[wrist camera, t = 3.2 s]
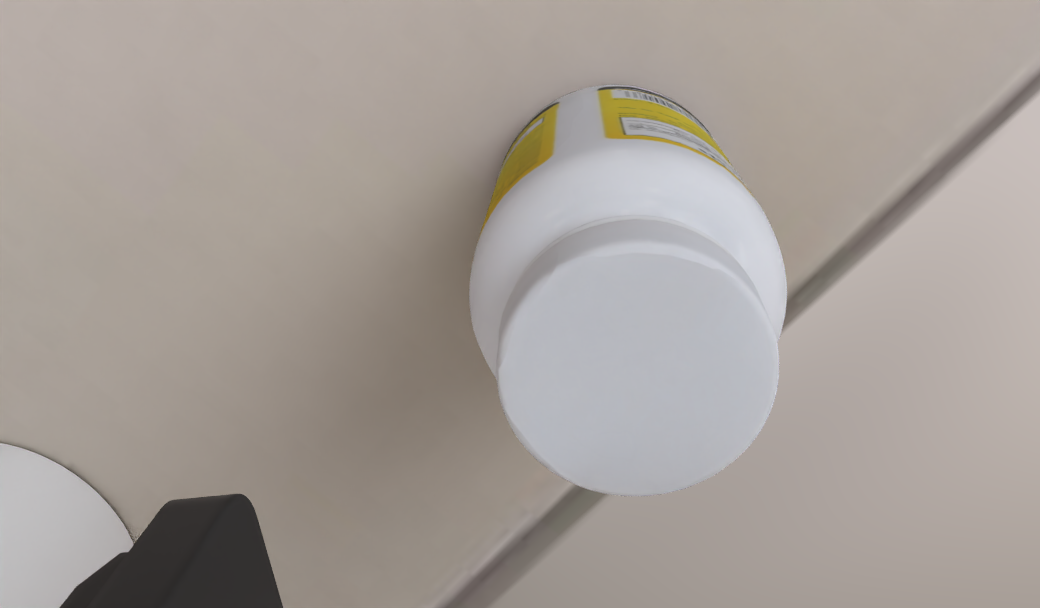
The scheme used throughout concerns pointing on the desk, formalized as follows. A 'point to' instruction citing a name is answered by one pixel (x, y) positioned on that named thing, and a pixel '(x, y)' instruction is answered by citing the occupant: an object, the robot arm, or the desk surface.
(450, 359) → the desk surface
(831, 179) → the desk surface
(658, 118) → the supplement bottle
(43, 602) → the cup
